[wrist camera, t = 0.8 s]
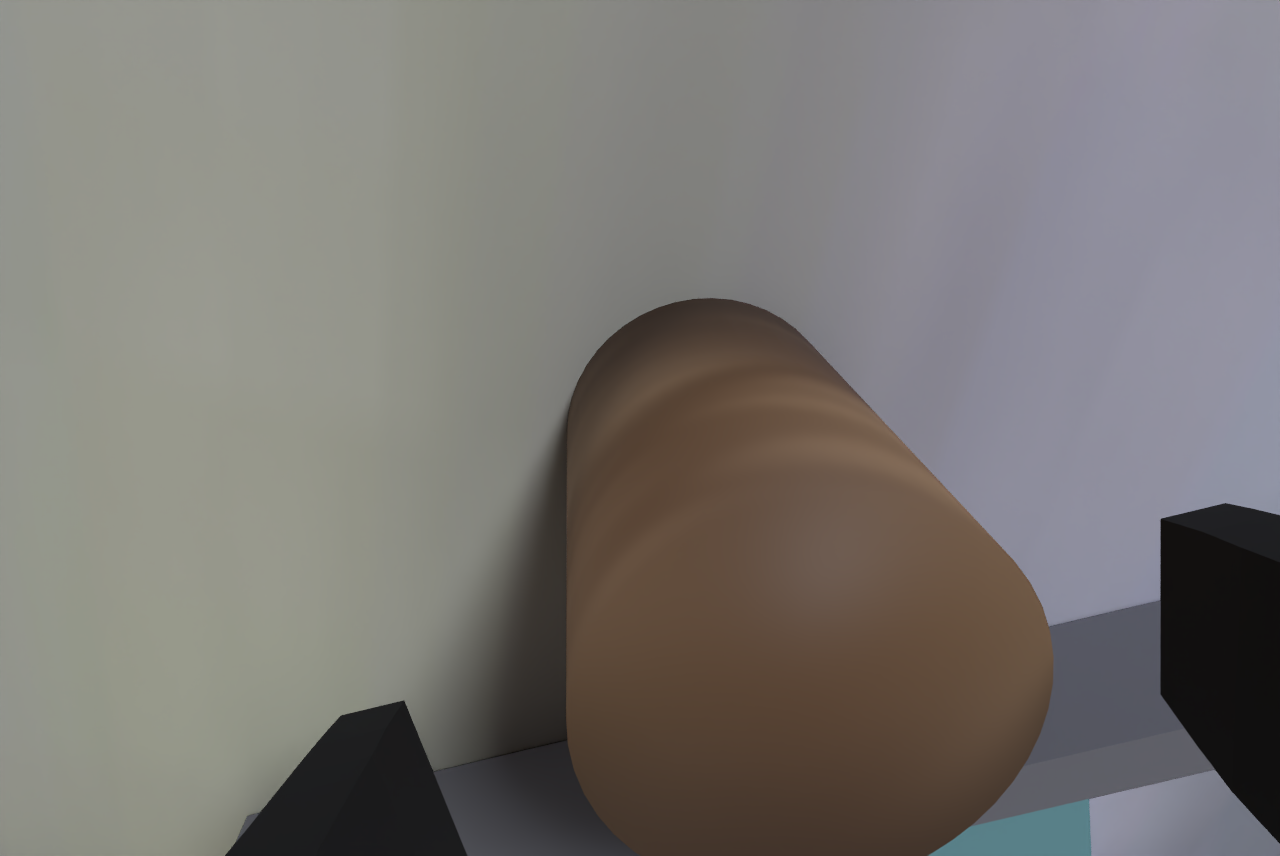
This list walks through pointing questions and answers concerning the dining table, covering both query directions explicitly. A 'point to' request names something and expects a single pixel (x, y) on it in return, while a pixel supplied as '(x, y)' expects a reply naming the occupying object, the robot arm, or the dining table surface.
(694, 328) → the walnut cylinder
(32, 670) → the dining table surface
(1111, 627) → the low wall
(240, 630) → the dining table surface
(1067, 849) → the mat
